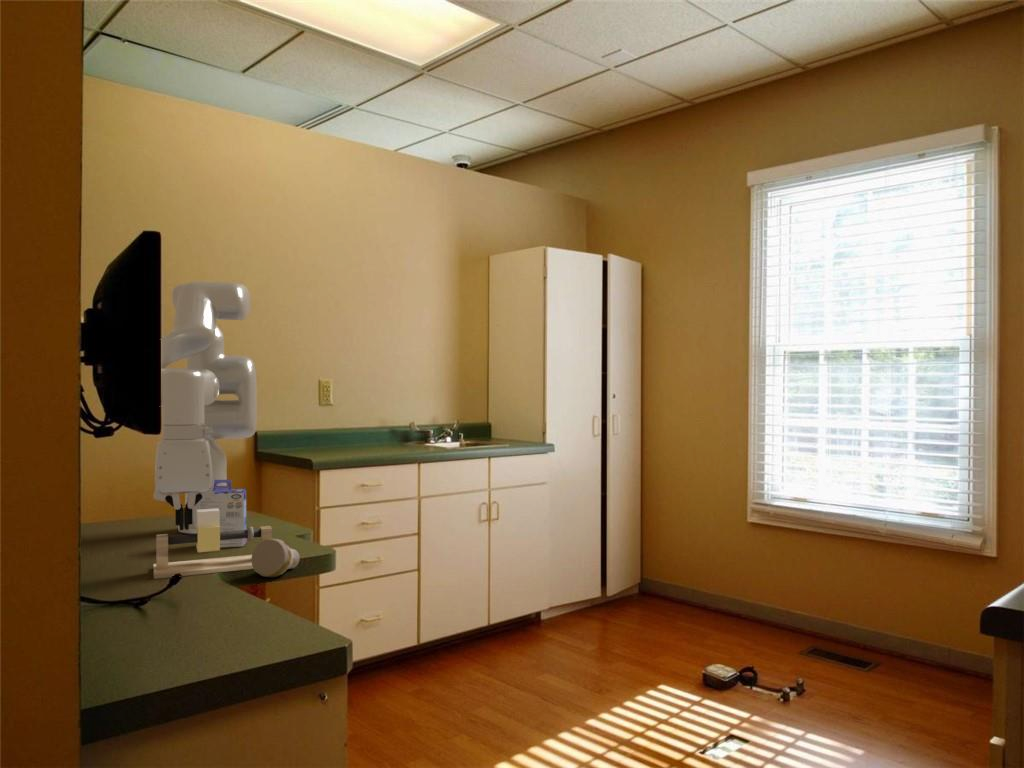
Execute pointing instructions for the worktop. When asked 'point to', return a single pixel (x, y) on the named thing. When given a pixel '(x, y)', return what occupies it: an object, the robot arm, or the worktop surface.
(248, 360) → the robot arm
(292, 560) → the mug
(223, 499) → the ink cartridge box
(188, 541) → the roller holder rack
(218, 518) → the sleeve
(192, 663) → the worktop surface
